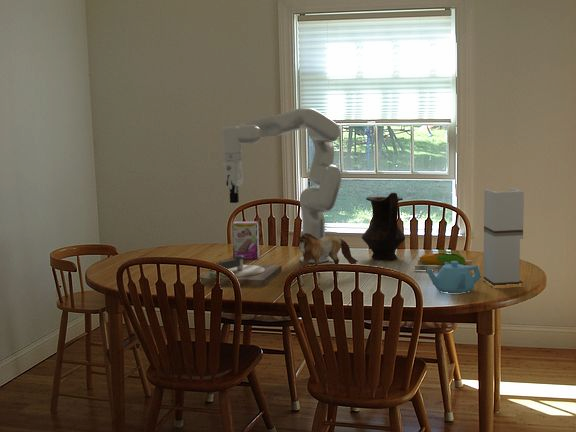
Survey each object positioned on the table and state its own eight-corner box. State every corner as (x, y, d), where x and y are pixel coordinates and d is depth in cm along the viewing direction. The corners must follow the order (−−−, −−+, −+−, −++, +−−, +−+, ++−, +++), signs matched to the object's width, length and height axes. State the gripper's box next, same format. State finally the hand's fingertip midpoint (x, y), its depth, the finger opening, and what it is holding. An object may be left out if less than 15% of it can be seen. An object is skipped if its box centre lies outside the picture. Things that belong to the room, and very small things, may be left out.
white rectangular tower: (522, 287, 291) (523, 191, 286) (493, 288, 291) (494, 192, 285) (510, 279, 303) (512, 187, 297) (483, 281, 302) (484, 188, 296)
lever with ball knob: (240, 268, 322) (239, 254, 321) (246, 269, 319) (245, 255, 319) (217, 273, 313) (217, 259, 312) (224, 274, 311) (223, 260, 310)
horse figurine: (303, 290, 297) (301, 235, 294) (288, 286, 303) (287, 233, 299) (359, 275, 318) (358, 224, 315) (344, 272, 323) (343, 222, 320)
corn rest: (472, 266, 327) (472, 260, 327) (471, 272, 316) (471, 266, 316) (417, 264, 333) (417, 259, 333) (414, 271, 322) (414, 265, 321)
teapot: (463, 298, 279) (463, 267, 277) (425, 292, 288) (425, 263, 287) (483, 289, 290) (483, 259, 289) (445, 283, 300) (445, 255, 298)
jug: (355, 257, 353) (354, 189, 348) (393, 253, 358) (393, 186, 354) (375, 266, 333) (374, 194, 328) (415, 262, 338) (415, 191, 334)
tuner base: (281, 271, 329) (281, 262, 328) (263, 286, 304) (263, 277, 303) (219, 269, 336) (219, 260, 335) (196, 284, 311) (196, 274, 310)
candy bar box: (233, 259, 355) (231, 223, 352) (234, 257, 360) (233, 221, 357) (258, 259, 353) (256, 222, 351) (259, 257, 358) (258, 221, 356)
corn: (461, 253, 315) (415, 249, 327) (461, 273, 316) (414, 268, 327) (468, 251, 322) (422, 247, 333) (468, 270, 322) (422, 265, 333)
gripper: (235, 158, 313) (237, 205, 316) (247, 155, 327) (248, 200, 330) (217, 158, 315) (219, 205, 318) (229, 155, 329) (231, 200, 332)
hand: (234, 202), depth 324 cm, fingers closed
